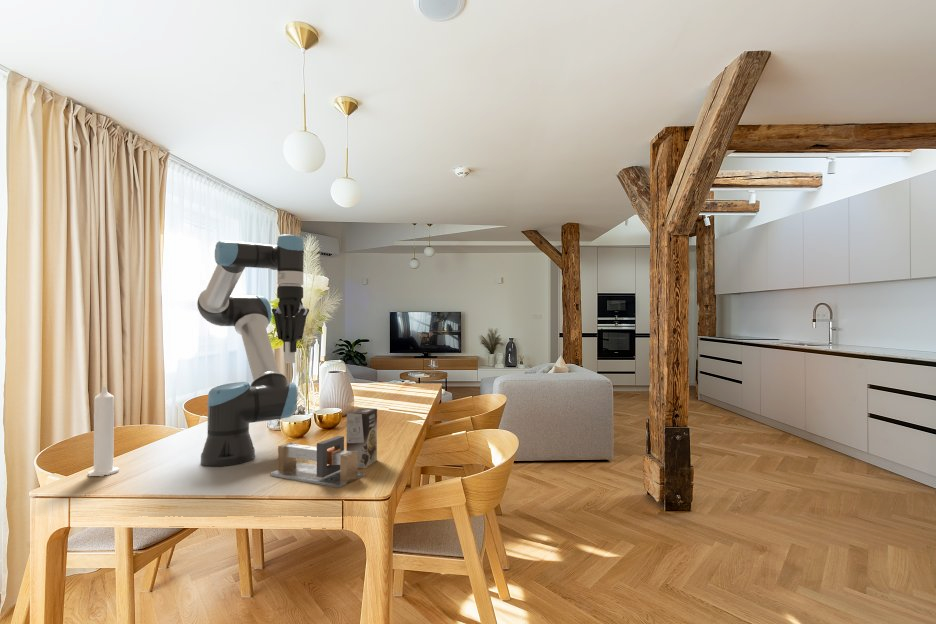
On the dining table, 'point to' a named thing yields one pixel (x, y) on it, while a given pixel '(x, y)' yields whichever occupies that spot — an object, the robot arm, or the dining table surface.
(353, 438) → the coffee box
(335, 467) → the grey square ring
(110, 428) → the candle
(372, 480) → the dining table surface
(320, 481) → the rail
